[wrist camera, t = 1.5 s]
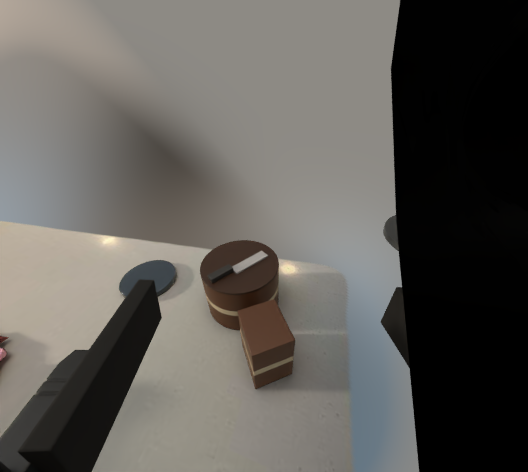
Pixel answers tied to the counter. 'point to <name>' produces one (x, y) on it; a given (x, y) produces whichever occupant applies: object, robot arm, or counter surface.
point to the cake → (239, 279)
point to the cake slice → (266, 342)
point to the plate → (149, 276)
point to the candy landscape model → (1, 352)
